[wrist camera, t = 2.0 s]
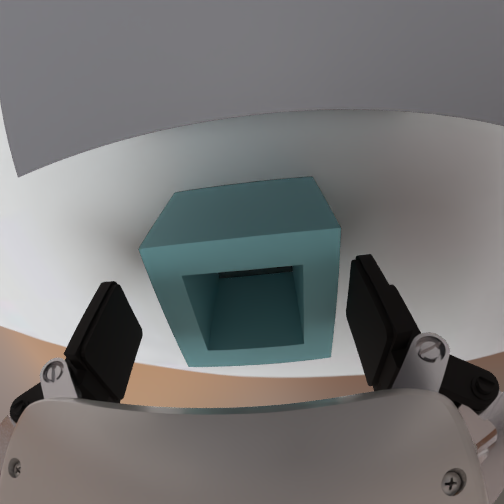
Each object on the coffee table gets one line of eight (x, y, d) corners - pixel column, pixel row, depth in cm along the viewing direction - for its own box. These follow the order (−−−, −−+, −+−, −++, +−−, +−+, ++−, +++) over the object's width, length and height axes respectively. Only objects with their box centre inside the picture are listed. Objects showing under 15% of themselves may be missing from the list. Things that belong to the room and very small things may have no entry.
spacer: (312, 176, 13) (340, 228, 8) (314, 286, 16) (330, 357, 12) (174, 192, 13) (138, 248, 9) (202, 296, 17) (188, 366, 12)
